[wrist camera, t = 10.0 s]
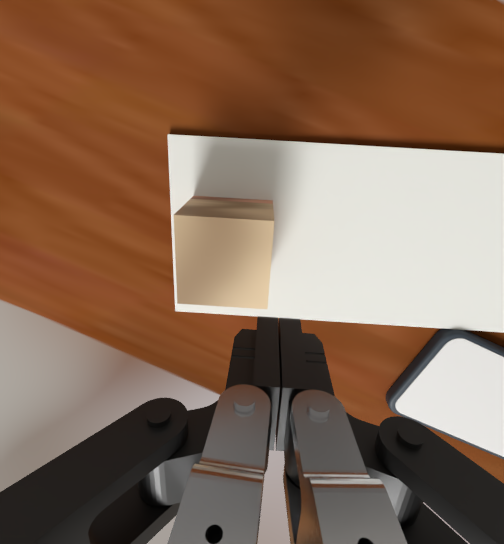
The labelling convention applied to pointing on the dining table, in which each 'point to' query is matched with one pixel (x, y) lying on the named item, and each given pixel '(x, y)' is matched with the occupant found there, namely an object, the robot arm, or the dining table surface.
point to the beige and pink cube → (224, 251)
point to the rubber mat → (362, 228)
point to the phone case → (455, 389)
